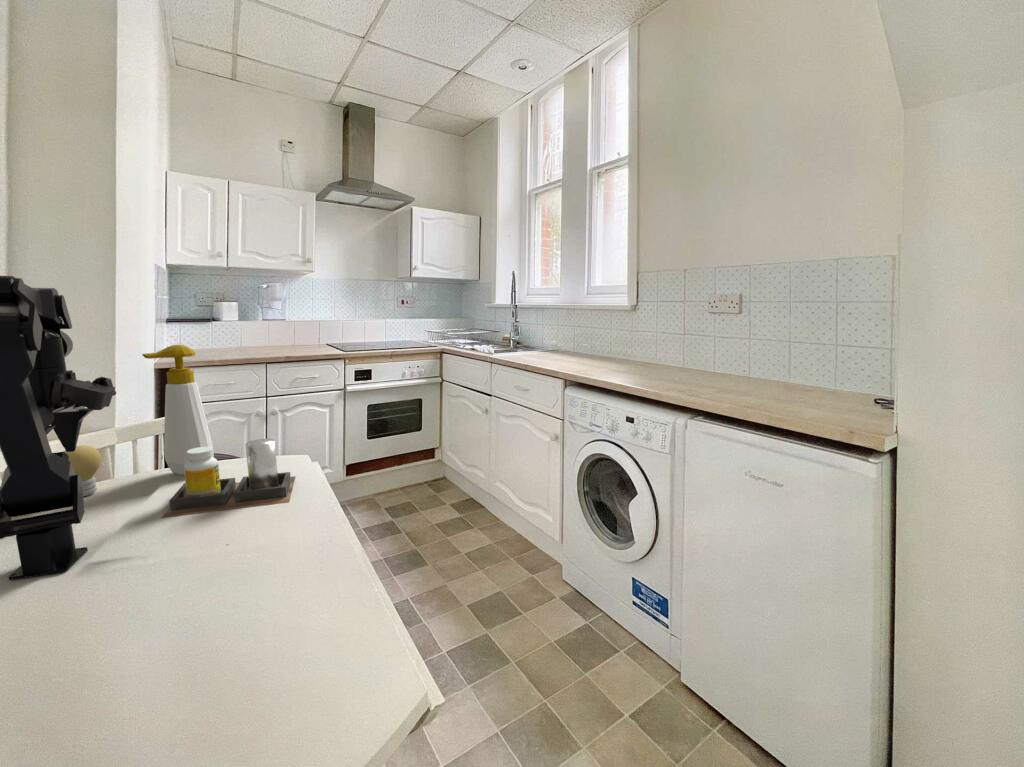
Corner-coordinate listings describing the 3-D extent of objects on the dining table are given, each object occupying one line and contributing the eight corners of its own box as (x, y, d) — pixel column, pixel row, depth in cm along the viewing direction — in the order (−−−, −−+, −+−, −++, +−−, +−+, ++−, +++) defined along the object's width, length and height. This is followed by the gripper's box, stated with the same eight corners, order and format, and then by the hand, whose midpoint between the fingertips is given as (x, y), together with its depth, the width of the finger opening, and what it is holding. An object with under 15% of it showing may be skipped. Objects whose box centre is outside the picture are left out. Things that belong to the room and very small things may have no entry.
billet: (277, 494, 90) (273, 444, 89) (247, 498, 89) (243, 447, 87) (280, 485, 95) (276, 437, 93) (252, 488, 93) (248, 440, 92)
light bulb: (85, 501, 90) (78, 451, 89) (53, 500, 90) (45, 451, 89) (114, 488, 97) (107, 441, 95) (84, 488, 97) (76, 441, 95)
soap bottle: (147, 477, 103) (129, 345, 98) (199, 464, 111) (185, 342, 106) (172, 490, 96) (155, 348, 91) (225, 475, 104) (212, 345, 99)
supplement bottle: (186, 497, 89) (180, 448, 87) (219, 490, 92) (214, 443, 90) (189, 507, 85) (183, 456, 83) (223, 499, 88) (218, 450, 86)
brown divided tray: (289, 509, 87) (288, 491, 87) (161, 526, 80) (159, 507, 80) (296, 482, 100) (294, 467, 100) (186, 495, 93) (184, 478, 93)
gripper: (74, 372, 70) (89, 472, 72) (126, 358, 87) (137, 440, 89) (-26, 375, 66) (-6, 481, 68) (50, 360, 83) (63, 445, 86)
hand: (56, 459), depth 78 cm, fingers open, 9 cm apart
